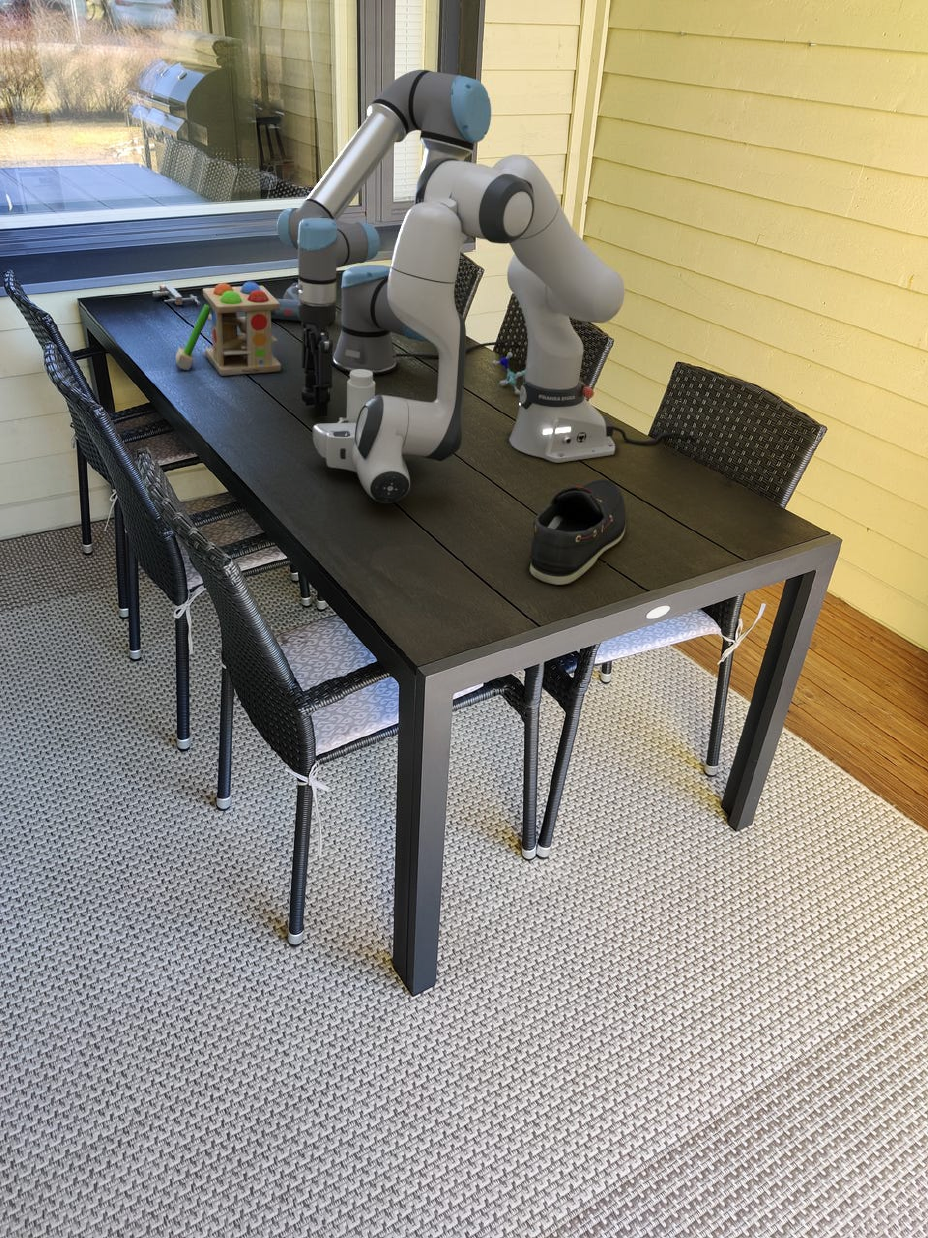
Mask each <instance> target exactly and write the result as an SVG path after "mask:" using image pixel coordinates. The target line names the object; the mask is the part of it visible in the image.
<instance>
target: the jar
mask: <svg viewBox="0 0 928 1238" xmlns="http://www.w3.org/2000/svg"><path fill="white" fill-rule="evenodd" d="M348 376H349V379H348V380H347V382H346V418H347V419H348V423H356V422H357V418H358V415H359V412H360V410H361V409H362V407H363V406H364V405H365V404H366V403H367V402H368V401H369V400H370V399H372V398H373V397H375V396H376V382H375V381H374V375H373V373H372V372H371V371H369V370H365V369H355V370H352V371H351V372H350V373H349V375H348Z"/></svg>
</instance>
